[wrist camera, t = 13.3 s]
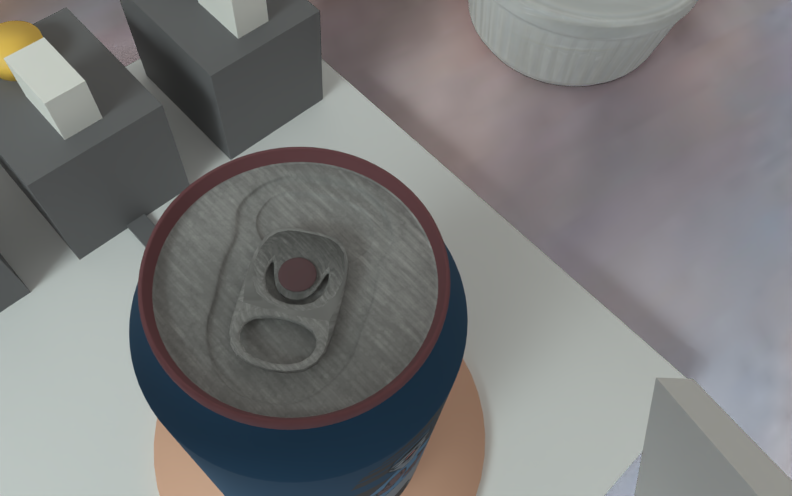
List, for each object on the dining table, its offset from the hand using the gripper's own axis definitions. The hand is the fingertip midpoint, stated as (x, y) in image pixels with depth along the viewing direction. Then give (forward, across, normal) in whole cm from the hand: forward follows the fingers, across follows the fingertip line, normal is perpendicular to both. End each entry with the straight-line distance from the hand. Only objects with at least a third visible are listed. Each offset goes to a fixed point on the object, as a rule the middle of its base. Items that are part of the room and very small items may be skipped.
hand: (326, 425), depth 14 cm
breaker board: (+12, -4, -4) cm, 14 cm away
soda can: (+9, -1, -5) cm, 10 cm away
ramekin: (+26, +10, +9) cm, 29 cm away
